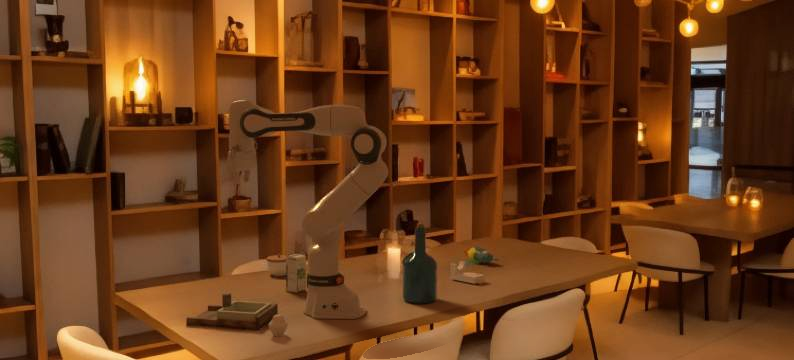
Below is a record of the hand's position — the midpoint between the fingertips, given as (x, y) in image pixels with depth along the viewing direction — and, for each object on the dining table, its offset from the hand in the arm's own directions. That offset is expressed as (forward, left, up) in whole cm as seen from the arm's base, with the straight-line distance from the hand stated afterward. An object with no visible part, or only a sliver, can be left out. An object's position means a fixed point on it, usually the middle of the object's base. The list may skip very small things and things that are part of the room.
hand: (241, 182), depth 265 cm
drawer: (-7, +17, -45) cm, 49 cm away
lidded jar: (+6, -54, -46) cm, 71 cm away
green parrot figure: (-78, -100, -47) cm, 135 cm away
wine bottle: (-62, -25, -46) cm, 81 cm away
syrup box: (-11, -28, -46) cm, 55 cm away
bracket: (-76, -61, -47) cm, 108 cm away
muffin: (-25, +29, -46) cm, 60 cm away
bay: (-4, +17, -46) cm, 49 cm away
